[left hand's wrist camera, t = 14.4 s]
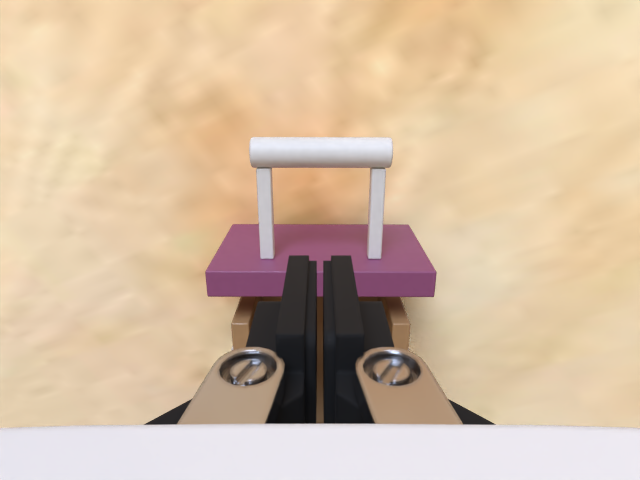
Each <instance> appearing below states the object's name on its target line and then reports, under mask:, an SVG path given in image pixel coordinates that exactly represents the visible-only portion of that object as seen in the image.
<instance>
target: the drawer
mask: <svg viewBox="0 0 640 480" xmlns="http://www.w3.org/2000/svg"><path fill="white" fill-rule="evenodd" d="M249 153H250V163H251V166H252V167H254V168H257V169H256V174H257V195H258V217H259V224H233V225H232V227H231V228H230V230H229V232H228V234H227V235H226V237H225V239H224V240H223V242H222V244H221V246H220V247H219V249H218V251H217V253H216V254H215V256H214V258H213V259H212V261H211V263H210V265H209V266H208V268H207V270H206V272H205V274H206V284H207V295H208V296H218V297H241V298H240V301H239V304H238V307H237V310H236V312H235V315H234V318H233V321H232V324H231V327H232V340H233V350H236V349H240V348H245V347H246V343H247V339H248V336H249V332H250V328H251V325H252V321H253V317H254V314H255V310H256V306H257V303H258V301H281V299H282V293H283V287H284V282H285V276H286V270H287V264H288V258H289V255H309V261H317V409H316V424H324V409H323V261H331V255H351V258H352V264H353V270H354V276H355V282H356V287H357V293H358V299H359V301H382V303H383V306H384V310H385V314H386V317H387V321H388V325H389V328H390V332H391V336H392V340H393V343H394V347H395V348H400V349H404V350H407V351H408V345H409V333H410V323H409V320H408V317H407V314H406V312H405V309H404V306H403V303H402V300H401V298H400V297H434V292H435V282H436V271H435V269H434V267H433V266H432V264H431V262H430V260H429V259H428V257H427V255H426V254H425V252H424V250H423V248H422V247H421V245H420V243H419V242H418V240H417V238H416V237H415V235H414V233H413V231H412V230H411V228H410V226H409V225H383V216H384V197H385V178H386V169H385V168H389V167H391V164H392V158H393V143H392V139H391V138H390V137H252V138H251V140H250V148H249ZM272 168H370V189H369V214H368V225H298V224H274V215H273V187H272Z"/></svg>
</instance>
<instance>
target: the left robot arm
mask: <svg viewBox="0 0 640 480" xmlns="http://www.w3.org/2000/svg"><path fill="white" fill-rule="evenodd" d="M316 409H317V261H309V255H289V258H288V264H287V270H286V276H285V282H284V287H283V293H282V299H281V301H258V303H257V306H256V310H255V314H254V317H253V321H252V325H251V328H250V332H249V336H248V339H247V343H246V347H245V348H240V349H236V350H233V351H230V352H228V353H226V354H224V355H223V356H221V357H220V358H219V359H218V360H217V361H216V362H215V363H214V364H213V366H212V368H211V369H210V371H209V373H208V374H207V376H206V377H205V379H204V381H203V382H202V384H201V386H200V387H199V389H198V390H197V392H196V394H195V395H194V397H193V399H191V400H189V401H187V402H186V403H184V404H182V405H180V406H178V407H176V408H174V409H172V410H171V411H169V412H167V413H165V414H163V415H161V416H159V417H157V418H156V419H154V420H152V421H150V422H148V423H146V424H144V425H89V426H49V427H19V428H0V480H640V428H625V427H589V426H554V425H496V424H494V423H492V422H490V421H488V420H486V419H484V418H483V417H481V416H479V415H477V414H475V413H473V412H471V411H469V410H468V409H466V408H464V407H462V406H460V405H458V404H456V403H454V402H453V401H451V400H449V399H447V397H446V395H445V394H444V392H443V390H442V389H441V387H440V386H439V384H438V382H437V381H436V379H435V377H434V376H433V374H432V373H431V371H430V369H429V368H428V366H427V364H426V363H425V362H424V361H423V360H422V359H421V358H420V357H419V356H417V355H416V354H414V353H412V352H410V351H407V350H404V349H400V348H395V347H394V343H393V340H392V336H391V332H390V328H389V325H388V321H387V317H386V314H385V310H384V306H383V303H382V301H359V299H358V293H357V287H356V282H355V276H354V270H353V264H352V258H351V255H331V261H323V409H324V424H316Z"/></svg>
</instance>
